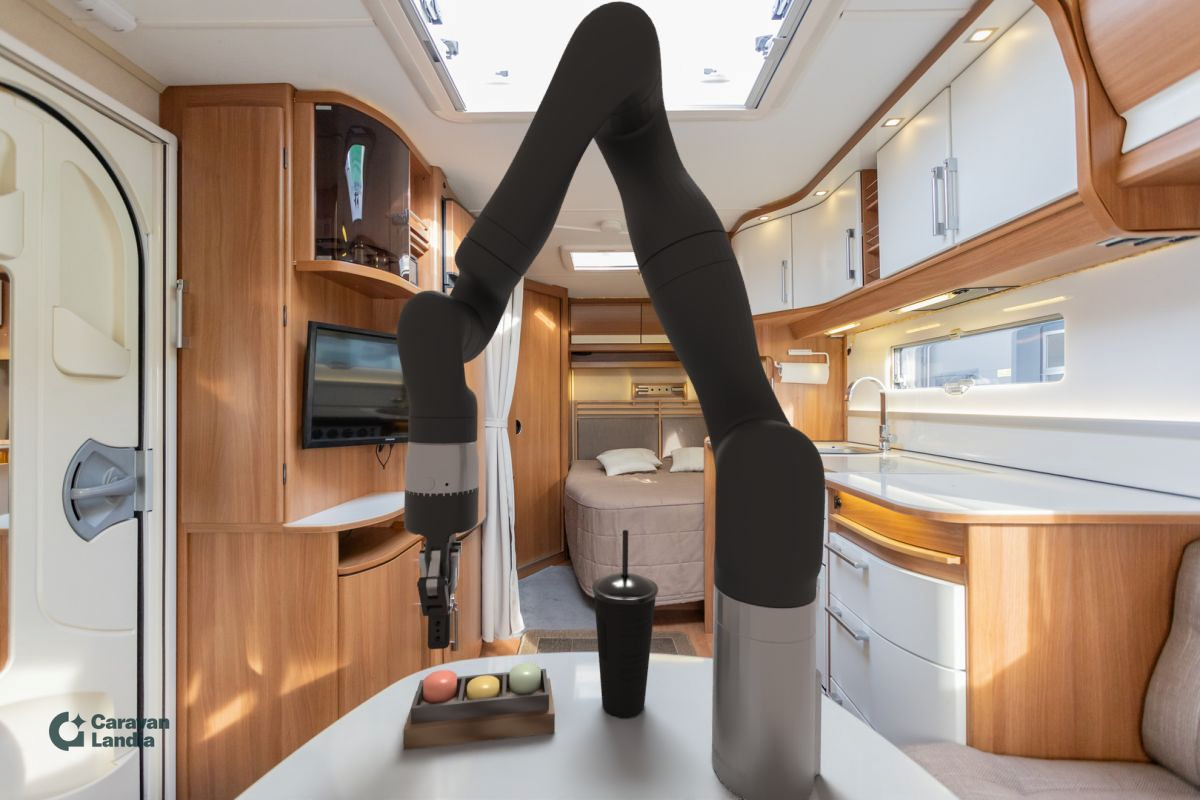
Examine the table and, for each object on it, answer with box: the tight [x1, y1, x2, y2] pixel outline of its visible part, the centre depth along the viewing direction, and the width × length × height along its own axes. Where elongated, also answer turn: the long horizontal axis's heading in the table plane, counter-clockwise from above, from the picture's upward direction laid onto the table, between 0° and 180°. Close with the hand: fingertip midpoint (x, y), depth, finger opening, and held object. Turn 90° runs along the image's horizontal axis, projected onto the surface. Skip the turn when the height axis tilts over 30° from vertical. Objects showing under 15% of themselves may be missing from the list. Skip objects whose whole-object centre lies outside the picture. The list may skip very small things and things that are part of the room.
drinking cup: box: [591, 529, 659, 720], centre depth 54 cm, size 8×8×20 cm
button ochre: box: [467, 675, 499, 700], centre depth 52 cm, size 3×3×2 cm
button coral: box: [423, 669, 458, 704], centre depth 51 cm, size 3×3×2 cm
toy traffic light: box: [402, 668, 556, 751], centre depth 52 cm, size 15×6×4 cm, turn 101°
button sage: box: [509, 662, 542, 695], centre depth 52 cm, size 3×3×2 cm
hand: (439, 645), depth 51 cm, fingers closed
